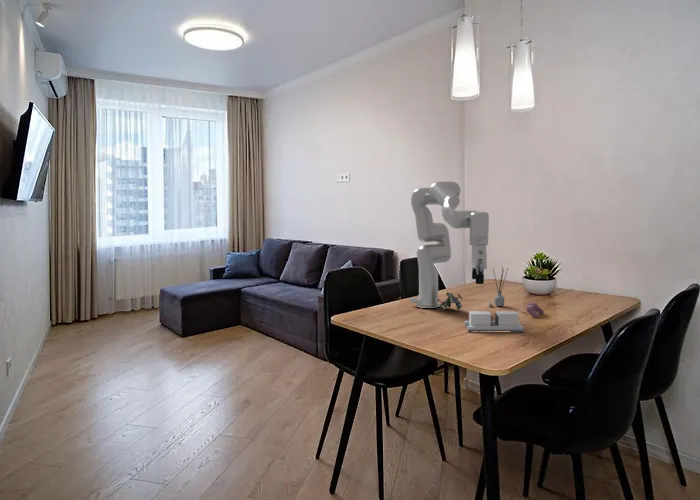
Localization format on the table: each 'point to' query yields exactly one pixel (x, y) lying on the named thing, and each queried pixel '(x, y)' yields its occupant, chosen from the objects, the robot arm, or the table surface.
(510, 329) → the rail dock
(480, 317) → the block
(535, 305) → the video game controller
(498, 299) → the reed diffuser
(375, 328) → the table surface
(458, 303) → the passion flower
